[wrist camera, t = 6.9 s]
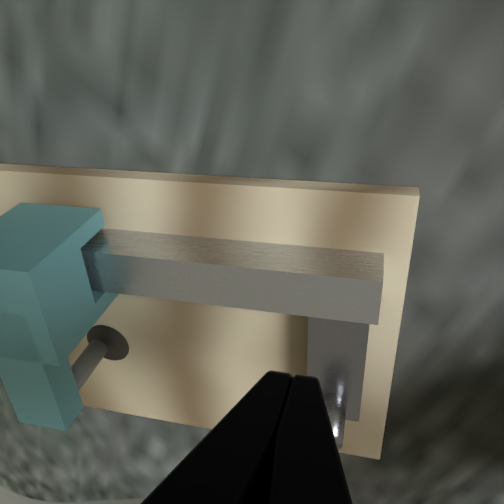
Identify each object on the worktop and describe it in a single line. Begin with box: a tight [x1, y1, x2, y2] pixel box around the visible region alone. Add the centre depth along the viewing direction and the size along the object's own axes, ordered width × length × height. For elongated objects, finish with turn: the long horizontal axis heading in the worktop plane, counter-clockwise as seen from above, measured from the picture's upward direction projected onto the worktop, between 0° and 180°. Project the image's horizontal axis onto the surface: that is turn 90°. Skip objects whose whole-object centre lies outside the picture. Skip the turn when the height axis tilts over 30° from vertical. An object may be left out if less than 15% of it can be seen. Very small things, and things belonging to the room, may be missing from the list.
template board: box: [0, 164, 420, 460], centre depth 24 cm, size 19×15×1 cm
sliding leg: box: [0, 203, 118, 431], centre depth 21 cm, size 4×9×5 cm, turn 2°
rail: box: [81, 228, 384, 325], centre depth 20 cm, size 17×2×2 cm, turn 92°
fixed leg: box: [307, 317, 370, 450], centre depth 20 cm, size 2×6×4 cm, turn 2°
